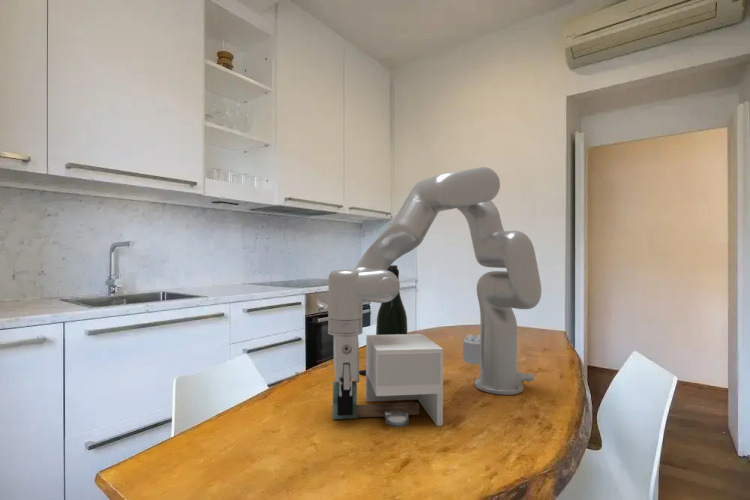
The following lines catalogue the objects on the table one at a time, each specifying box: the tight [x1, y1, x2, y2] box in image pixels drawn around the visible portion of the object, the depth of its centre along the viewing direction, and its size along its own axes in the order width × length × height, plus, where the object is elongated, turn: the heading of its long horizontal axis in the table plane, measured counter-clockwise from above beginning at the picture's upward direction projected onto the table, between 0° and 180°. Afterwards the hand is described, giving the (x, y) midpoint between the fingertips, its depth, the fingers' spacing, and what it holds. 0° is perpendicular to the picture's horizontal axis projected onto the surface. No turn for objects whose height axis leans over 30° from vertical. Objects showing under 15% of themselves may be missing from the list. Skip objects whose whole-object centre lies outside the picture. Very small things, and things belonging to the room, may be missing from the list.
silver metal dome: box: [384, 409, 410, 428], centre depth 82 cm, size 5×5×2 cm
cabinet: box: [365, 333, 444, 427], centre depth 88 cm, size 14×17×16 cm
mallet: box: [332, 380, 420, 420], centre depth 85 cm, size 19×3×7 cm, turn 98°
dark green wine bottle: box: [375, 264, 409, 335], centre depth 126 cm, size 10×10×33 cm
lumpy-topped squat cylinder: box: [462, 333, 480, 365], centre depth 135 cm, size 10×13×9 cm
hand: (344, 410), depth 84 cm, fingers closed on mallet, 3 cm apart
